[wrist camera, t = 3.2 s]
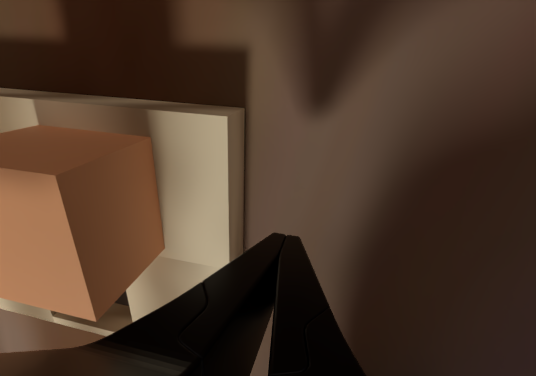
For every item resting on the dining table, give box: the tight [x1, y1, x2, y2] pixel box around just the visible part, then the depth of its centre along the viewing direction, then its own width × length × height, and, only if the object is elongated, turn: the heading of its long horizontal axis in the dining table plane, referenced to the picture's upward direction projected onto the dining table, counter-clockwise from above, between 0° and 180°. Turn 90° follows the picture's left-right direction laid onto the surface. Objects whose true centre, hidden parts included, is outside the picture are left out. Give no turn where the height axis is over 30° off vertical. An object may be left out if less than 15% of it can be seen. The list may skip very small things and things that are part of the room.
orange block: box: [0, 125, 165, 322], centre depth 10 cm, size 5×5×4 cm
